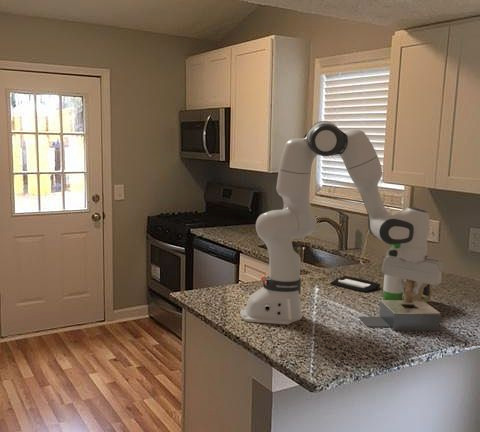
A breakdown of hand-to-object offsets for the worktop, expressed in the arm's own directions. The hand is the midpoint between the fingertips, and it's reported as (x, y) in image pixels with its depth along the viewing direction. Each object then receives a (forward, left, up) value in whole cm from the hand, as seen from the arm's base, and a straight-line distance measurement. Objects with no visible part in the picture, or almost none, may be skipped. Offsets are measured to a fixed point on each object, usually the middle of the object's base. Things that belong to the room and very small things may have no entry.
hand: (409, 291), depth 184 cm
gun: (+11, +18, -12) cm, 25 cm away
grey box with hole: (0, -1, -12) cm, 12 cm away
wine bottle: (+5, +28, -12) cm, 31 cm away
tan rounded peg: (0, 0, -4) cm, 4 cm away
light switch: (-5, +47, -12) cm, 49 cm away
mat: (-12, 0, -12) cm, 16 cm away
